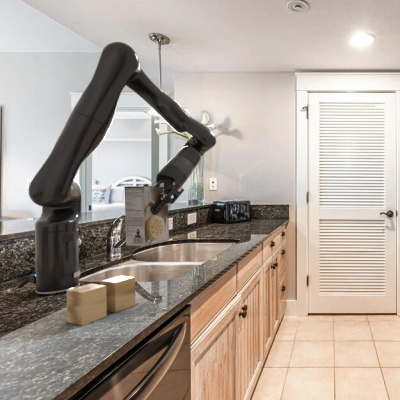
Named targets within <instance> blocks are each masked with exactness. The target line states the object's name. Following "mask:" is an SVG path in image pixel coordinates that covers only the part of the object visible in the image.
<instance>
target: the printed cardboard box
mask: <svg viewBox="0 0 400 400" xmlns="http://www.w3.org/2000/svg"><path fill="white" fill-rule="evenodd" d="M163 188H164V189H166V187H154V186H151V185H148V186H143V185H142V186H140V185H139V186H131V185H130V186H129V185H128V186H124V215H125V216H124V219H125V222H124V223H125V245H126V246H127V247H128V246H129V247H148V246H152V245H156V244H160V243H164V242H169V241H170V225H169V224H170V222H169V221H170V220H169V204H168V205H166V206H164V207H163V208H162V210H161V211H160V212H159V213H158V214H157V215H154V214H153V213H152V212H151V211H150V209H151V208H152V207H153V205H154V204H155V203H156V202H157V200H159V197H160V193H161V191H162V190H163Z"/></svg>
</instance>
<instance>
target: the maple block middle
mask: <svg viewBox="0 0 400 400" xmlns="http://www.w3.org/2000/svg"><path fill="white" fill-rule="evenodd" d="M99 283H100V285H105V286H106V303H107V312H108V313H115V314H117V313H119V312H121V311H124V310H126V309H129V308H131V307H132V308H133V307H134V306H136V277H135V276H128V275H117V276H113V277H109V278H105V279H103V280H100V281H99Z"/></svg>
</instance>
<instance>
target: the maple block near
mask: <svg viewBox="0 0 400 400" xmlns="http://www.w3.org/2000/svg"><path fill="white" fill-rule="evenodd" d="M107 314H108V311H107V303H106V286H105V285H101V284H97V283H88V284H83V285H80V287H76V288H73V289H69V290H67V292H66V323H70V324H74V325H79V326H86V325H88V324H91V323H93V322H95V321H99V320H100V319H103V318H106V317H108V316H107Z"/></svg>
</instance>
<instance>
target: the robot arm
mask: <svg viewBox="0 0 400 400" xmlns="http://www.w3.org/2000/svg"><path fill="white" fill-rule="evenodd" d="M94 70H95V71H94V73H93V75H92V78H91V79H90V82H89V83H88V84H87V86H86V88H85V89H84V91H83V92H82V94H81V95H80V97H79V99H78V101H77V102H76V103H75V106H74V107H73V109H72V111H71V112H70V115H69V116H68V118H67V120H66V122H65V124H64V127H63V128H62V130H61V132H60V134H59V136H58V138H57V140H56V142H55V143H54V146H53V148H52V150H51V152H50V154H49V155H48V156H47V158H46V160H45V161H44V163H43V164H42V165H41V167H40V168H39V170H38V171H37V172H36V174H35V175H34V176H33V178H32V179H31V181H30V183H29V186H28V190H27V191H28V196H29V199H30V200H31V201H32V203H34V204H35V205H36V206H37V205H38V206H39V207H41V215H40V217H39V218H38V219H36V221H35V223H34V242H35V243H34V246H35V249H34V250H35V259H34V273H32V274H29V278H27V279H25V280H24V281H22V282H21V283H19V285H18V286H17V288H18V289H22V288H23V287H24V286H25V285H27V284H35V286H34V287H35V295H38V296H49V295H50V296H52V295H59V294H64V293H67V290H69V289H73V288H76V287H80V286H81V285H80V284H81V283H80V276H81V270H80V247H79V246H80V244H79V243H80V241H79V240H80V239H79V224H80V222H81V217H82V200H83V199H82V188H81V185H80V183H79V182H78V181H77V180H76V176H77V175H78V174H77V173H78V172H79V169H80V168H81V166H82V164H83V163H85V161H86V160H87V159H88V158H89V157H90V156H91V155H92V154H93V153H94V152H95V151H96V150H97V149H98V148H99V146H100V145H101V144H102V143H103V141H104V139H105V138H106V136H107V135H108V132H109V130H110V128H111V126H112V124H113V121H114V118H115V115H116V112H117V108H118V103H119V100H120V97H121V95H122V93H123V91H124V89H125V87H127V88H129V89H130V90H131V91H132V92H134V93H135V94H136V95H137V96H138V97H140V98H141V99H142V100H143V101H144V102H145V103H146V104H147V105H149V106H150V107H151V109H153V111H155V112H156V113H157V115H159V116H160V117H161V118H162V120H164V121H165V122H166V123H167V125H168V126H170V127H171V128H172V129H173V130H174V131H175V132H177V133H178V134H185V133H187V134H189V135H190V137H189V138H188V139H187V140H186V142H185V143H184V144H183V146H182V148H180V149H179V150H178V151H177V153H176V154H175V155H174V156H173V157H172V158H170V159H169V161H168V162H166V164H164V166H163V167H162V168H161V169H160V170H159V171H158V172H157V173H156V176H155V179H156V180H155V182H153V183H152V184H151V185H150V186H154V187H166V189H164V188H163V190H162V191H161V193H160V197H159V200H157V202H156V203H155V204H154V205H153V207H152V208H151V209H150V211H151V212H152V213H153V214H154V215H157V214H158V213H159V212H160V211H161V210H162V208H163V207H164V206H166V205H168V206H169V204H170V205H172V204H175V203H176V201H177V200H178V199H179V197H180V196H181V195H182V194H183V192H184V191H185V189H184V187H183V186H184V184H185V183H186V182H187V180H189V178H190V177H191V175H192V174H193V172H194V170H195V169H196V168H197V166H198V165H199V164H200V162H201V160H202V157H203V156H204V155H205V154H206V153H207V152H208V151H210V150H211V149H212V148H214V147H215V146H216V145H217V137H216V135H215V133H214V132H213V131H212V130H211V129H210V128H209V127H207V125H204V124H203V123H201V122H200V121H198V120H196V118H194V117H192V116H191V115H190V114H189V113H188V111H187V110H185V109H184V107H182V106H181V105H180V104H179V103H178V102H177V101H176V100H175V99H173V98H172V97H171V96H170V95H168V94H167V93H166V92H165V91H163V90H162V89H161V88H160V87H159V86H158V85H156V84H155V83H154V82H153V81H152V79H150V77H149V76H148V75H147V74H146V73H145V72H144V70H143V69H142V67H141V66H140V59H139V56H138V54H137V52H136V51H135V50H134V48H133V47H132V46H130V45H129V44H127V43H125V42H122V41H112V42H110V43H108V44H106V45H105V46H104V48H103V49H102V51H101V53H100V56H99V59H98V62H97V65H96V68H95V69H94ZM142 186H149V184H148V183H144V184H143V185H142ZM172 196H173V197H172Z"/></svg>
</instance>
